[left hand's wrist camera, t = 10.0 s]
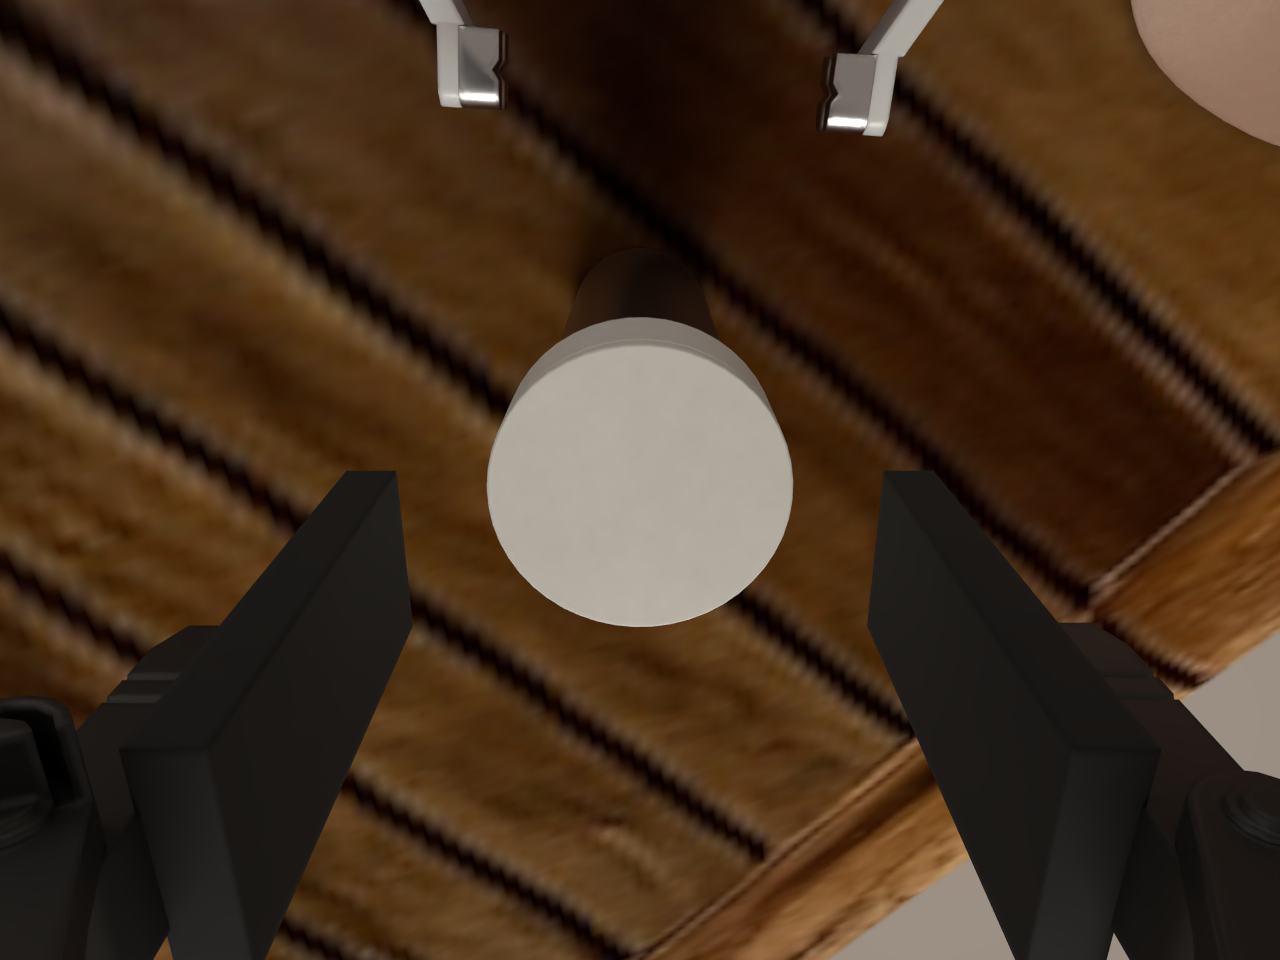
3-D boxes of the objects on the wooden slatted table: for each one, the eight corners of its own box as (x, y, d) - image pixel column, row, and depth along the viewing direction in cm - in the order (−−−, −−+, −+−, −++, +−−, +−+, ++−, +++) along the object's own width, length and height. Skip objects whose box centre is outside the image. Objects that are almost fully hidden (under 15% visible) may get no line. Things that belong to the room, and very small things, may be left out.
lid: (727, 275, 17) (739, 297, 15) (808, 525, 19) (829, 575, 17) (459, 372, 18) (436, 407, 16) (564, 604, 20) (555, 662, 18)
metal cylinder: (680, 227, 30) (717, 330, 16) (723, 353, 31) (792, 550, 17) (553, 275, 30) (479, 416, 16) (601, 396, 32) (571, 621, 18)
